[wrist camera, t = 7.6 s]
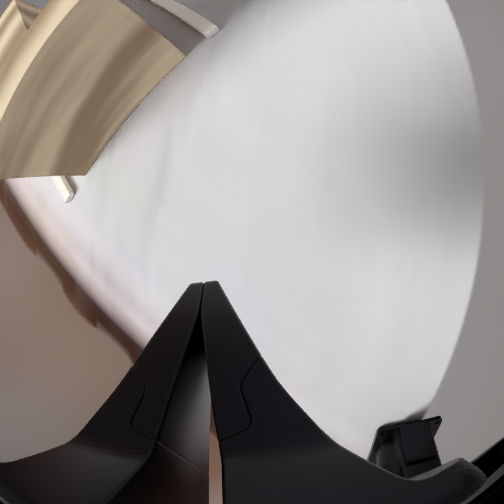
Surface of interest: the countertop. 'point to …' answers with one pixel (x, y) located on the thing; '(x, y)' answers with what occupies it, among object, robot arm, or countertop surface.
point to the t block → (72, 81)
